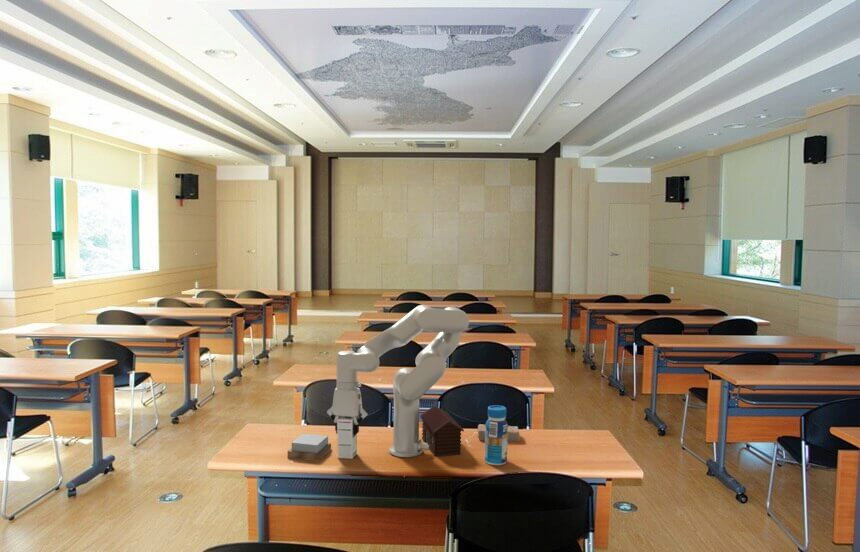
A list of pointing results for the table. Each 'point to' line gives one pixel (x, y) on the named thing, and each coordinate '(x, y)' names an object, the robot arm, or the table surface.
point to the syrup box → (346, 438)
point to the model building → (441, 432)
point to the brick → (512, 430)
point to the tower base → (309, 454)
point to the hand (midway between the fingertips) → (347, 432)
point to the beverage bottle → (496, 436)
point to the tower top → (309, 443)
